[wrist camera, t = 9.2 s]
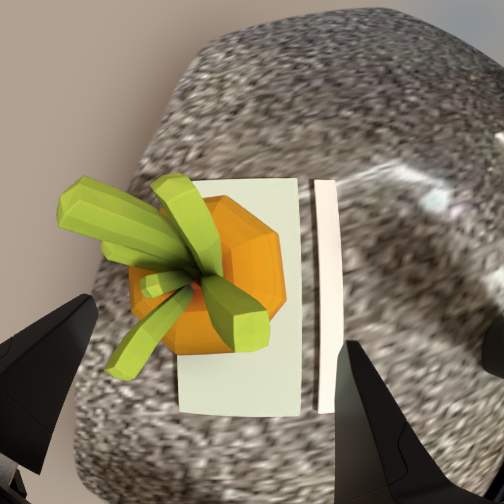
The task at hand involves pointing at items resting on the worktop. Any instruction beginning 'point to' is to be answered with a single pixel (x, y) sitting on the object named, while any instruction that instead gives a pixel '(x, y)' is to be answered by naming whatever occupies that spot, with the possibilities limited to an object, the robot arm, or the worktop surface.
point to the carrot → (182, 267)
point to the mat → (282, 324)
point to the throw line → (328, 290)
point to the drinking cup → (494, 350)
